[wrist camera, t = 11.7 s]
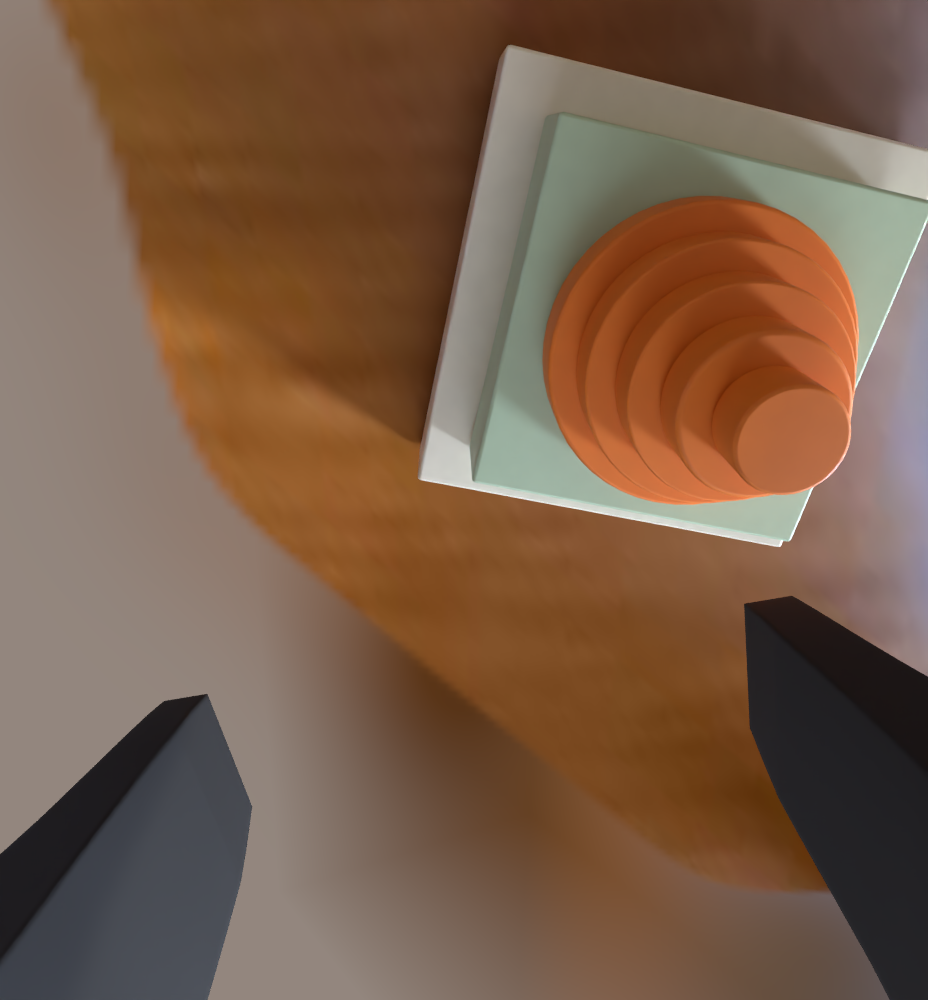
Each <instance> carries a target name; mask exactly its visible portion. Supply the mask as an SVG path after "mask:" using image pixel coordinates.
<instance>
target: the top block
mask: <svg viewBox="0 0 928 1000" xmlns="http://www.w3.org/2000/svg"><path fill="white" fill-rule="evenodd" d="M694 196H723V197H729V198H736V199H742V200H747V201H752V202H757V203H761V204H764V205H767V206H770V207H773V208H776V209H779V210H781V211H783V212H785V213H787V214H789V215H791V216H793V217H795V218H797V219H798V220H799V221H801V222H802V223H804V224H805V225H806V226H808V227H809V228H811V229H812V230H813V231H814V232H815V233H816V234H817V235H818V236H819V237H820V238H821V239H822V240H823V241H824V242H826V243H827V245H828V246H829V247H830V249H831V250H832V251H833V253H834V254H835V256H836V257H837V258H838V260H839V261H840V263H841V265H842V267H843V269H844V271H845V273H846V275H847V277H848V279H849V282H850V285H851V288H852V291H853V294H854V298H855V303H856V308H857V314H858V328H859V340H858V359H857V370H856V386H855V389H856V387H857V384H858V382H859V380H860V377H861V375H862V373H863V370H864V368H865V366H866V363H867V361H868V359H869V356H870V354H871V352H872V349H873V347H874V345H875V342H876V340H877V338H878V335H879V333H880V331H881V328H882V326H883V324H884V321H885V319H886V317H887V314H888V312H889V310H890V307H891V305H892V303H893V300H894V298H895V296H896V293H897V291H898V289H899V286H900V284H901V282H902V279H903V277H904V275H905V272H906V270H907V268H908V265H909V263H910V261H911V258H912V256H913V254H914V251H915V249H916V247H917V244H918V242H919V240H920V237H921V235H922V233H923V230H924V228H925V226H926V223H927V221H928V200H926V199H922V198H918V197H913V196H909V195H905V194H901V193H897V192H893V191H889V190H885V189H880V188H876V187H872V186H868V185H864V184H860V183H856V182H852V181H847V180H843V179H839V178H835V177H831V176H827V175H823V174H819V173H815V172H810V171H806V170H802V169H798V168H794V167H790V166H786V165H782V164H777V163H773V162H769V161H765V160H761V159H757V158H753V157H749V156H744V155H740V154H736V153H732V152H728V151H724V150H720V149H716V148H711V147H707V146H703V145H699V144H695V143H691V142H687V141H683V140H678V139H674V138H670V137H666V136H662V135H658V134H654V133H650V132H645V131H641V130H637V129H633V128H629V127H625V126H621V125H617V124H612V123H608V122H604V121H600V120H596V119H592V118H588V117H584V116H579V115H575V114H571V113H567V112H560V113H556V114H552V115H548V116H547V117H546V118H545V121H544V125H543V130H542V134H541V138H540V143H539V147H538V151H537V156H536V160H535V164H534V169H533V173H532V177H531V182H530V186H529V190H528V195H527V199H526V203H525V208H524V212H523V217H522V221H521V225H520V230H519V234H518V238H517V243H516V247H515V251H514V256H513V260H512V264H511V269H510V273H509V277H508V282H507V286H506V290H505V295H504V299H503V303H502V308H501V312H500V316H499V321H498V325H497V329H496V334H495V338H494V342H493V347H492V351H491V355H490V360H489V364H488V368H487V373H486V377H485V381H484V386H483V390H482V394H481V399H480V403H479V407H478V412H477V416H476V420H475V425H474V429H473V433H472V438H471V442H470V446H469V447H470V460H471V472H472V481H473V482H475V483H480V484H485V485H490V486H496V487H501V488H506V489H512V490H517V491H522V492H528V493H533V494H538V495H544V496H549V497H554V498H560V499H565V500H570V501H575V502H581V503H586V504H591V505H597V506H602V507H607V508H613V509H618V510H623V511H629V512H634V513H639V514H644V515H650V516H655V517H660V518H666V519H671V520H676V521H682V522H687V523H692V524H698V525H703V526H708V527H713V528H719V529H724V530H729V531H735V532H740V533H745V534H751V535H756V536H761V537H767V538H772V539H777V540H782V541H790V540H791V538H792V536H793V533H794V531H795V529H796V526H797V524H798V522H799V519H800V517H801V515H802V512H803V510H804V508H805V505H806V503H807V501H808V498H809V496H810V494H811V491H812V489H813V487H812V488H810V489H808V490H806V491H803V492H800V493H795V494H789V495H770V496H764V497H754V498H750V499H746V500H738V501H725V502H717V503H703V504H694V505H673V504H665V503H657V502H652V501H648V500H644V499H641V498H637V497H634V496H632V495H629V494H627V493H624V492H622V491H620V490H618V489H616V488H615V487H613V486H611V485H609V484H608V483H606V482H604V481H603V480H602V479H600V478H599V477H598V476H596V475H595V474H594V473H593V472H591V471H590V470H589V469H588V468H587V467H586V466H585V465H584V464H583V463H582V462H581V461H580V460H579V459H578V457H577V456H576V454H575V453H574V452H573V450H572V449H571V448H570V446H569V445H568V443H567V441H566V440H565V438H564V436H563V434H562V432H561V430H560V428H559V426H558V424H557V421H556V419H555V416H554V414H553V411H552V408H551V405H550V403H549V400H548V397H547V392H546V388H545V383H544V376H543V363H542V359H543V342H544V336H545V331H546V326H547V321H548V318H549V315H550V312H551V309H552V306H553V303H554V301H555V299H556V297H557V295H558V293H559V290H560V288H561V286H562V284H563V283H564V281H565V279H566V278H567V276H568V275H569V273H570V272H571V270H572V268H573V267H574V266H575V264H576V263H577V262H578V261H579V260H580V258H581V257H582V256H583V255H584V253H585V252H586V251H587V250H588V249H589V248H590V247H591V246H592V245H593V244H594V243H595V242H596V241H597V240H598V239H599V238H600V237H602V236H603V235H604V234H605V233H607V232H608V231H609V230H611V229H612V228H613V227H615V226H616V225H617V224H619V223H620V222H622V221H624V220H625V219H627V218H629V217H631V216H632V215H634V214H636V213H638V212H640V211H642V210H645V209H647V208H650V207H652V206H655V205H657V204H660V203H664V202H667V201H671V200H675V199H679V198H686V197H694Z"/></svg>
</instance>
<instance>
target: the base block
mask: <svg viewBox="0 0 928 1000" xmlns="http://www.w3.org/2000/svg"><path fill="white" fill-rule="evenodd" d="M560 112H567V113H571V114H575V115H579V116H584V117H588V118H592V119H596V120H600V121H604V122H608V123H612V124H617V125H621V126H625V127H629V128H633V129H637V130H641V131H645V132H650V133H654V134H658V135H662V136H666V137H670V138H674V139H678V140H683V141H687V142H691V143H695V144H699V145H703V146H707V147H711V148H716V149H720V150H724V151H728V152H732V153H736V154H740V155H744V156H749V157H753V158H757V159H761V160H765V161H769V162H773V163H777V164H782V165H786V166H790V167H794V168H798V169H802V170H806V171H810V172H815V173H819V174H823V175H827V176H831V177H835V178H839V179H843V180H847V181H852V182H856V183H860V184H864V185H868V186H872V187H876V188H880V189H885V190H889V191H893V192H897V193H901V194H905V195H909V196H913V197H918V198H922V199H926V200H928V149H926V148H922V147H918V146H914V145H910V144H906V143H902V142H898V141H894V140H890V139H886V138H882V137H878V136H874V135H870V134H866V133H862V132H858V131H854V130H850V129H846V128H842V127H838V126H834V125H830V124H826V123H822V122H818V121H814V120H810V119H806V118H802V117H798V116H794V115H790V114H786V113H782V112H778V111H774V110H770V109H766V108H762V107H758V106H754V105H750V104H746V103H742V102H738V101H734V100H730V99H726V98H722V97H718V96H714V95H710V94H706V93H702V92H698V91H694V90H690V89H686V88H682V87H678V86H674V85H670V84H666V83H662V82H658V81H654V80H650V79H646V78H642V77H638V76H634V75H630V74H626V73H622V72H618V71H614V70H610V69H606V68H602V67H598V66H594V65H590V64H586V63H582V62H578V61H574V60H570V59H566V58H562V57H558V56H554V55H550V54H546V53H542V52H538V51H534V50H530V49H526V48H522V47H518V46H514V45H508V46H507V47H506V49H505V50H504V52H503V53H502V55H501V56H500V58H499V63H498V68H497V72H496V77H495V82H494V87H493V92H492V97H491V102H490V107H489V112H488V117H487V122H486V126H485V131H484V136H483V141H482V146H481V151H480V156H479V161H478V166H477V171H476V176H475V181H474V185H473V190H472V195H471V200H470V205H469V210H468V215H467V220H466V225H465V230H464V235H463V239H462V244H461V249H460V254H459V259H458V264H457V269H456V274H455V279H454V284H453V289H452V294H451V298H450V303H449V308H448V313H447V318H446V323H445V328H444V333H443V338H442V343H441V348H440V352H439V357H438V362H437V367H436V372H435V377H434V382H433V387H432V392H431V397H430V402H429V407H428V411H427V416H426V421H425V426H424V431H423V436H422V441H421V446H420V455H419V468H418V479H420V480H424V481H429V482H435V483H440V484H445V485H451V486H456V487H461V488H467V489H472V490H477V491H483V492H488V493H493V494H499V495H504V496H509V497H515V498H520V499H525V500H531V501H536V502H542V503H547V504H552V505H558V506H563V507H568V508H574V509H579V510H584V511H590V512H595V513H600V514H606V515H611V516H616V517H622V518H627V519H632V520H638V521H643V522H648V523H654V524H659V525H664V526H670V527H675V528H680V529H686V530H691V531H696V532H702V533H707V534H712V535H718V536H723V537H728V538H734V539H739V540H744V541H750V542H755V543H760V544H766V545H771V546H776V547H780V546H781V544H782V542H783V541H782V540H777V539H772V538H767V537H761V536H756V535H751V534H745V533H740V532H735V531H729V530H724V529H719V528H713V527H708V526H703V525H698V524H692V523H687V522H682V521H676V520H671V519H666V518H660V517H655V516H650V515H644V514H639V513H634V512H629V511H623V510H618V509H613V508H607V507H602V506H597V505H591V504H586V503H581V502H575V501H570V500H565V499H560V498H554V497H549V496H544V495H538V494H533V493H528V492H522V491H517V490H512V489H506V488H501V487H496V486H490V485H485V484H480V483H475V482H473V481H472V472H471V460H470V447H469V446H470V442H471V438H472V433H473V429H474V425H475V420H476V416H477V412H478V407H479V403H480V399H481V394H482V390H483V386H484V381H485V377H486V373H487V368H488V364H489V360H490V355H491V351H492V347H493V342H494V338H495V334H496V329H497V325H498V321H499V316H500V312H501V308H502V303H503V299H504V295H505V290H506V286H507V282H508V277H509V273H510V269H511V264H512V260H513V256H514V251H515V247H516V243H517V238H518V234H519V230H520V225H521V221H522V217H523V212H524V208H525V203H526V199H527V195H528V190H529V186H530V182H531V177H532V173H533V169H534V164H535V160H536V156H537V151H538V147H539V143H540V138H541V134H542V130H543V125H544V121H545V118H546V117H547V116H548V115H552V114H556V113H560Z"/></svg>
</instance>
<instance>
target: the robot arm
mask: <svg viewBox="0 0 928 1000" xmlns="http://www.w3.org/2000/svg"><path fill="white" fill-rule="evenodd" d="M744 608H745V630H746V652H747V674H748V696H749V719H750V729H751V731H752V734H753V736H754V739H755V741H756V744H757V747H758V749H759V752H760V754H761V757H762V759H763V762H764V764H765V767H766V769H767V771H768V774H769V776H770V778H771V781H772V783H773V786H774V788H775V790H776V793H777V795H778V797H779V799H780V801H781V803H782V805H783V807H784V809H785V810H786V812H787V814H788V816H789V818H790V820H791V821H792V823H793V825H794V827H795V829H796V830H797V832H798V834H799V836H800V838H801V839H802V841H803V843H804V845H805V847H806V848H807V850H808V852H809V854H810V856H811V857H812V859H813V861H814V863H815V865H816V866H817V868H818V870H819V872H820V873H821V875H822V877H823V879H824V881H825V882H826V884H827V886H828V888H829V889H830V891H831V893H832V895H833V897H834V898H835V900H836V902H837V904H838V905H839V907H840V909H841V911H842V913H843V914H844V916H845V918H846V919H847V921H848V923H849V925H850V927H851V929H852V930H853V932H854V934H855V936H856V938H857V939H858V941H859V943H860V945H861V946H862V948H863V950H864V952H865V953H866V955H867V957H868V959H869V961H870V962H871V964H872V966H873V968H874V970H875V972H876V974H877V976H878V978H879V980H880V982H881V983H882V985H883V987H884V989H885V991H886V993H887V995H888V997H889V999H890V1000H928V677H927V676H925V675H924V674H922V673H920V672H918V671H917V670H915V669H913V668H911V667H910V666H908V665H906V664H905V663H903V662H901V661H899V660H898V659H896V658H894V657H893V656H891V655H889V654H888V653H886V652H884V651H883V650H881V649H879V648H878V647H876V646H874V645H873V644H871V643H869V642H868V641H866V640H864V639H863V638H861V637H859V636H858V635H856V634H854V633H853V632H851V631H850V630H848V629H846V628H845V627H843V626H841V625H840V624H838V623H837V622H835V621H833V620H832V619H830V618H828V617H827V616H825V615H824V614H822V613H820V612H819V611H817V610H815V609H814V608H812V607H810V606H809V605H807V604H805V603H804V602H802V601H800V600H798V599H797V598H795V597H793V596H788V597H782V598H776V599H770V600H764V601H758V602H752V603H746V604H744ZM251 810H252V805H251V803H250V800H249V798H248V795H247V793H246V790H245V788H244V785H243V783H242V780H241V778H240V775H239V773H238V770H237V767H236V765H235V763H234V760H233V757H232V755H231V752H230V750H229V747H228V745H227V742H226V740H225V737H224V735H223V732H222V730H221V727H220V725H219V722H218V720H217V717H216V715H215V712H214V710H213V707H212V705H211V702H210V700H209V697H208V695H207V694H204V695H199V696H192V697H186V698H180V699H174V700H168V701H164V702H163V703H161V704H160V705H159V706H158V707H156V708H155V709H154V710H153V711H152V712H151V713H149V714H148V715H147V716H146V717H145V718H144V719H143V720H142V721H141V722H140V723H139V724H137V725H136V727H134V728H133V729H132V730H131V731H130V732H129V733H128V734H127V735H126V736H125V737H124V738H123V739H122V740H121V741H120V742H119V743H118V744H117V745H116V746H115V747H113V748H112V750H110V751H109V752H108V753H107V754H106V755H105V756H104V757H103V758H102V759H101V760H100V761H99V762H98V763H97V764H96V765H95V766H94V767H93V768H92V769H91V770H90V771H89V772H88V773H87V774H86V775H85V776H84V777H83V778H81V779H80V780H79V782H77V783H76V784H75V785H74V786H73V787H72V788H71V789H70V790H69V791H68V792H67V793H66V794H65V795H64V796H63V797H62V798H61V799H60V800H59V801H58V802H57V803H56V804H55V805H54V806H53V807H52V808H50V809H49V810H48V811H47V812H46V814H44V815H43V816H42V817H41V818H40V819H39V820H38V821H37V822H36V823H34V824H33V825H32V826H31V827H30V828H29V829H28V830H27V831H26V832H25V833H23V834H22V835H21V836H20V837H19V838H18V839H17V840H16V841H14V842H13V843H12V844H11V845H10V846H9V847H8V848H7V849H6V850H4V851H3V852H2V853H1V854H0V1000H207V999H208V996H209V992H210V989H211V985H212V982H213V979H214V975H215V972H216V968H217V965H218V961H219V958H220V954H221V951H222V947H223V944H224V940H225V937H226V933H227V930H228V926H229V922H230V919H231V915H232V912H233V908H234V905H235V901H236V897H237V894H238V890H239V886H240V882H241V877H242V871H243V865H244V859H245V854H246V847H247V840H248V833H249V825H250V817H251Z"/></svg>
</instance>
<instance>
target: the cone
mask: <svg viewBox="0 0 928 1000" xmlns="http://www.w3.org/2000/svg"><path fill="white" fill-rule="evenodd" d="M858 340H859V328H858V314H857V308H856V303H855V298H854V294H853V291H852V288H851V285H850V282H849V279H848V277H847V275H846V273H845V271H844V269H843V267H842V265H841V263H840V261H839V260H838V258H837V257H836V256H835V254H834V253H833V251H832V250H831V249H830V247H829V246H828V245H827V243H826V242H824V241H823V240H822V239H821V238H820V237H819V236H818V235H817V234H816V233H815V232H814V231H813V230H812V229H811V228H809V227H808V226H806V225H805V224H804V223H802V222H801V221H799V220H798V219H797V218H795V217H793V216H791V215H789V214H787V213H785V212H783V211H781V210H779V209H776V208H773V207H770V206H767V205H764V204H761V203H757V202H752V201H747V200H742V199H736V198H729V197H723V196H694V197H686V198H679V199H675V200H671V201H667V202H664V203H660V204H657V205H655V206H652V207H650V208H647V209H645V210H642V211H640V212H638V213H636V214H634V215H632V216H631V217H629V218H627V219H625V220H624V221H622V222H620V223H619V224H617V225H616V226H615V227H613V228H612V229H611V230H609V231H608V232H607V233H605V234H604V235H603V236H602V237H600V238H599V239H598V240H597V241H596V242H595V243H594V244H593V245H592V246H591V247H590V248H589V249H588V250H587V251H586V252H585V253H584V255H583V256H582V257H581V258H580V260H579V261H578V262H577V263H576V264H575V266H574V267H573V268H572V270H571V272H570V273H569V275H568V276H567V278H566V279H565V281H564V283H563V284H562V286H561V288H560V290H559V293H558V295H557V297H556V299H555V301H554V303H553V306H552V309H551V312H550V315H549V318H548V321H547V326H546V331H545V336H544V342H543V359H542V363H543V376H544V383H545V388H546V392H547V397H548V400H549V403H550V405H551V408H552V411H553V414H554V416H555V419H556V421H557V424H558V426H559V428H560V430H561V432H562V434H563V436H564V438H565V440H566V441H567V443H568V445H569V446H570V448H571V449H572V450H573V452H574V453H575V454H576V456H577V457H578V459H579V460H580V461H581V462H582V463H583V464H584V465H585V466H586V467H587V468H588V469H589V470H590V471H591V472H593V473H594V474H595V475H596V476H598V477H599V478H600V479H602V480H603V481H604V482H606V483H608V484H609V485H611V486H613V487H615V488H616V489H618V490H620V491H622V492H624V493H627V494H629V495H632V496H634V497H637V498H641V499H644V500H648V501H652V502H657V503H665V504H673V505H694V504H703V503H717V502H725V501H738V500H746V499H750V498H754V497H764V496H770V495H789V494H795V493H800V492H803V491H806V490H808V489H810V488H812V487H815V486H816V485H818V484H819V483H821V482H822V481H824V480H825V479H826V478H828V477H829V476H830V475H831V474H832V473H833V472H834V471H835V470H836V468H837V467H838V466H839V464H840V463H841V461H842V460H843V458H844V456H845V454H846V452H847V449H848V447H849V443H850V438H851V422H850V419H851V415H852V406H853V398H854V394H855V386H856V370H857V359H858Z"/></svg>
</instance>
